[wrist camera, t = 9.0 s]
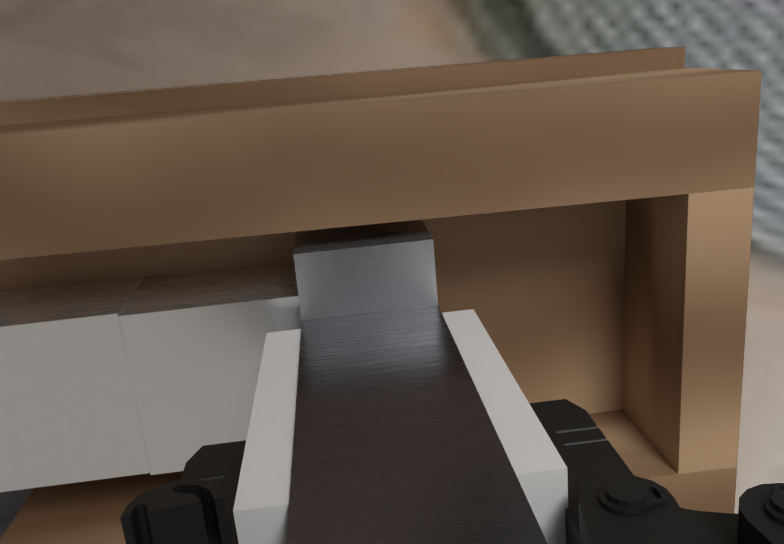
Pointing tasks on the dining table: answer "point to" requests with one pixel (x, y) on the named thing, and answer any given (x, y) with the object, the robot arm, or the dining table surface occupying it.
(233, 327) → the block
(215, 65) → the dining table surface
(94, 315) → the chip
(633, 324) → the slot board
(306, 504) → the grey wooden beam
